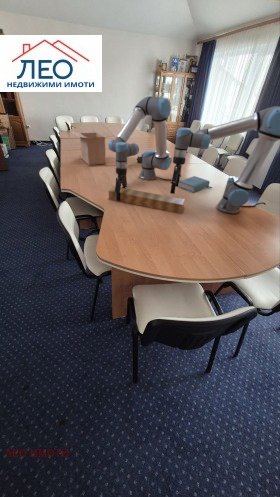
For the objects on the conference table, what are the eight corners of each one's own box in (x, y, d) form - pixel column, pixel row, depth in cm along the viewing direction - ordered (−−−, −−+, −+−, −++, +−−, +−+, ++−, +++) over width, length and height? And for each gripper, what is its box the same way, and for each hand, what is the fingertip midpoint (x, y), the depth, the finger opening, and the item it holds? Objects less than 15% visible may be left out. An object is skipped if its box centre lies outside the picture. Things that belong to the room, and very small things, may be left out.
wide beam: (108, 199, 162) (108, 190, 158) (114, 194, 169) (114, 186, 166) (181, 213, 150) (182, 204, 146) (183, 207, 158) (185, 199, 154)
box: (116, 165, 229) (116, 136, 213) (83, 168, 214) (80, 137, 198) (102, 154, 259) (101, 128, 243) (71, 156, 244) (68, 129, 228)
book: (193, 181, 204) (194, 176, 201) (208, 186, 195) (209, 181, 192) (178, 186, 191) (179, 181, 188) (193, 192, 182) (195, 186, 179)
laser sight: (156, 165, 237) (157, 156, 231) (135, 163, 240) (136, 153, 234) (157, 163, 245) (158, 153, 239) (137, 161, 248) (138, 151, 242)
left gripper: (120, 172, 141) (119, 205, 154) (132, 164, 158) (130, 193, 172) (109, 171, 143) (110, 203, 156) (122, 162, 160) (122, 191, 173)
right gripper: (182, 162, 124) (176, 197, 137) (188, 153, 144) (182, 184, 156) (169, 160, 126) (164, 195, 139) (177, 151, 145) (172, 182, 158)
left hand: (121, 198), depth 164 cm, fingers closed on wide beam, 10 cm apart
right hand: (174, 189), depth 147 cm, fingers open, 13 cm apart
